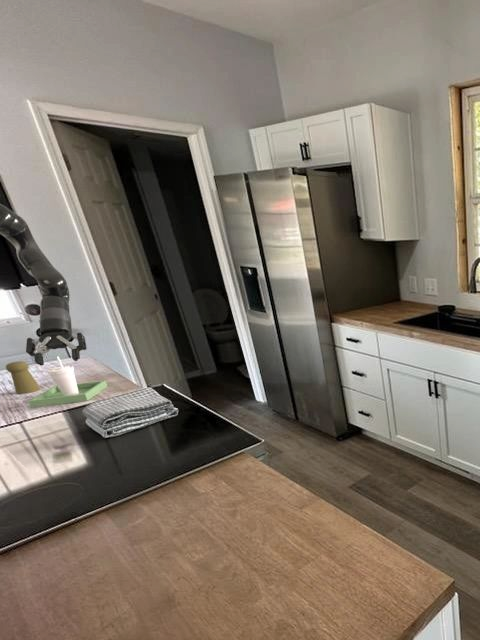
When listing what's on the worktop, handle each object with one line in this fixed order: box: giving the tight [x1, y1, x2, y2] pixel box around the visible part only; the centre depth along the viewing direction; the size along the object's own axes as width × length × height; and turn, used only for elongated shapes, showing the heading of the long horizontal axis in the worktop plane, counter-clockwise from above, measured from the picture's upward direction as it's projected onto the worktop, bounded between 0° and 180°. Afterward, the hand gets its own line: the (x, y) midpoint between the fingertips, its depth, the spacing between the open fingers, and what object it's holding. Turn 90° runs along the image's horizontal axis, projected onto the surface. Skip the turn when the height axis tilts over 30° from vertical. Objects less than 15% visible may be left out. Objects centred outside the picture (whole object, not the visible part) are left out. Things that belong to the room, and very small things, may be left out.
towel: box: [81, 386, 179, 439], centre depth 122 cm, size 15×18×8 cm
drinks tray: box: [27, 380, 109, 409], centre depth 144 cm, size 15×15×2 cm
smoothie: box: [46, 355, 79, 396], centre depth 142 cm, size 6×6×14 cm
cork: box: [5, 360, 41, 395], centre depth 148 cm, size 6×6×11 cm
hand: (57, 362), depth 141 cm, fingers open, 8 cm apart
